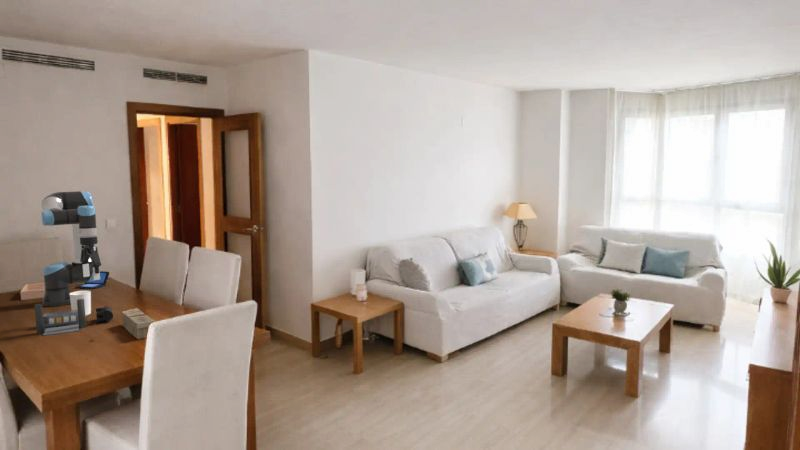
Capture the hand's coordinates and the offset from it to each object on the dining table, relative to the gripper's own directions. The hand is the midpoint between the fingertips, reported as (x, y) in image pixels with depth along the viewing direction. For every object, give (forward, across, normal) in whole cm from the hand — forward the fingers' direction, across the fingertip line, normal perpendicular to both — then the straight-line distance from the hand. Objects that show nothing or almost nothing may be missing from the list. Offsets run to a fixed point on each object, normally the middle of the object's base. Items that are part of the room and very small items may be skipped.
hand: (91, 278), depth 256 cm
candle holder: (+22, -20, +1) cm, 30 cm away
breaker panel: (+23, -8, -11) cm, 27 cm away
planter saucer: (+21, -87, +2) cm, 90 cm away
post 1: (+23, -2, -23) cm, 33 cm away
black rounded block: (+23, +2, +4) cm, 24 cm away
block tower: (+24, +31, +8) cm, 40 cm away
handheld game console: (+21, -85, +29) cm, 93 cm away
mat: (+23, +2, -15) cm, 28 cm away
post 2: (+23, +5, -7) cm, 24 cm away
